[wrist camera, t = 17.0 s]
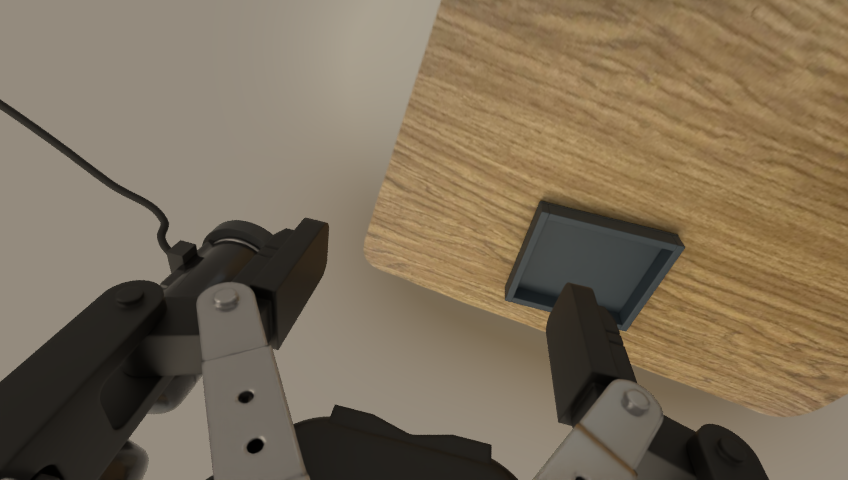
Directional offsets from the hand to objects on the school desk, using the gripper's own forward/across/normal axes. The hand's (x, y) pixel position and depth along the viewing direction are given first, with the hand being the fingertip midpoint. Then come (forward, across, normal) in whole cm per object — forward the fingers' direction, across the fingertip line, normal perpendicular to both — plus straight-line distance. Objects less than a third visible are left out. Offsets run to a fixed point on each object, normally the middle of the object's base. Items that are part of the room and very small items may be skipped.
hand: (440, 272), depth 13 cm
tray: (+28, -17, +16) cm, 37 cm away
